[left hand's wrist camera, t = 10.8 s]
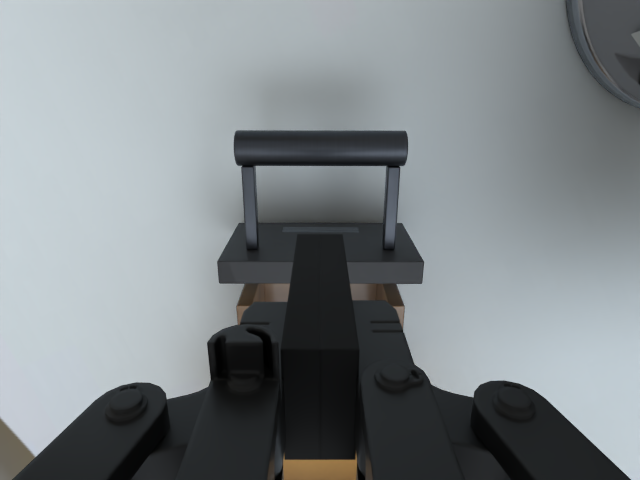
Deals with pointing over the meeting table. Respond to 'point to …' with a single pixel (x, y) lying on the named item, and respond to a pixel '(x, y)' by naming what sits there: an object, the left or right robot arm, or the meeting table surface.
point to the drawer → (359, 238)
